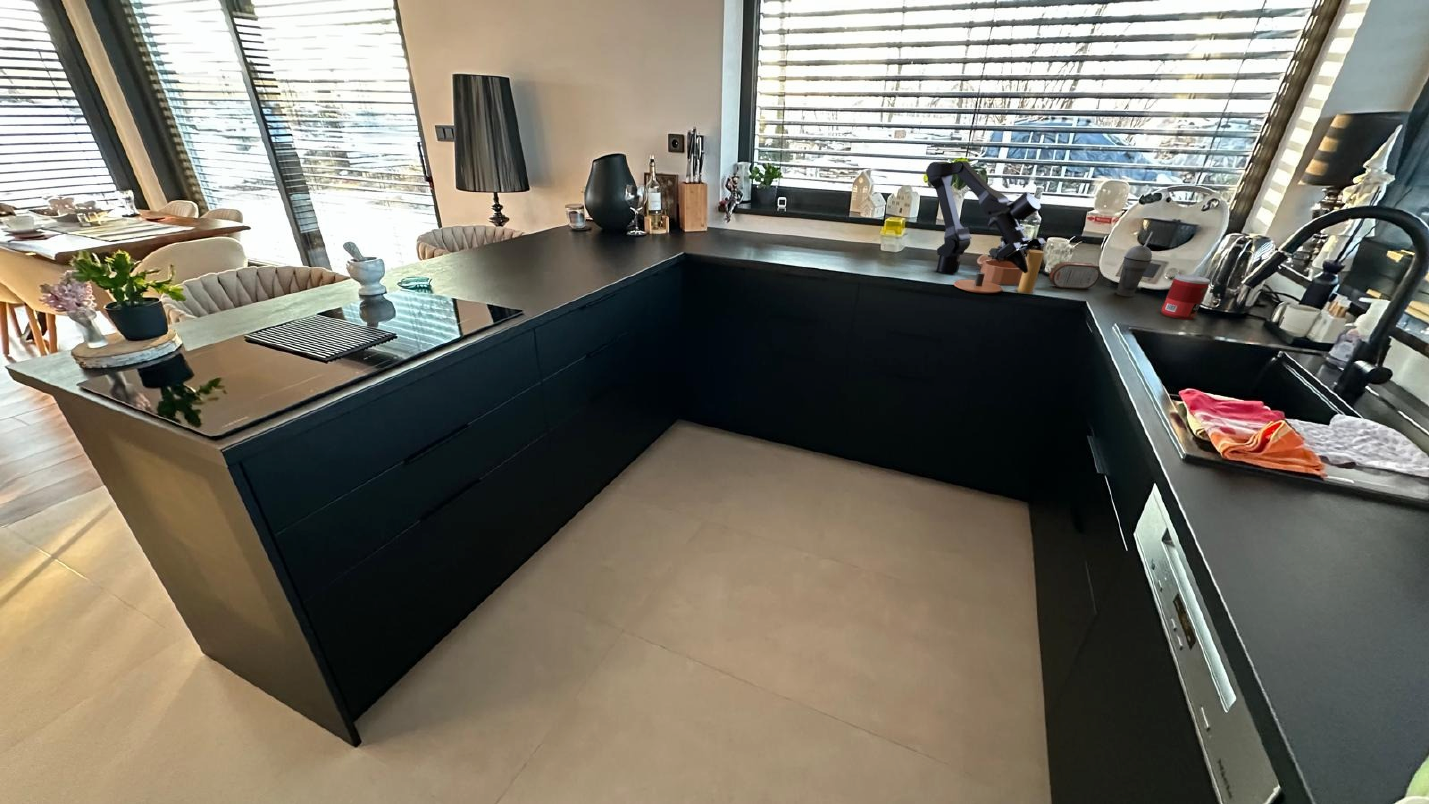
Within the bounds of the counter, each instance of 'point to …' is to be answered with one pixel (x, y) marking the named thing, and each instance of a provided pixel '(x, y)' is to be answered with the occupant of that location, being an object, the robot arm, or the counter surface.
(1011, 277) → the pot
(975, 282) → the lid
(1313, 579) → the counter surface
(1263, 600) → the counter surface
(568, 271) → the counter surface
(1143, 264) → the beverage cup
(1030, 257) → the eggroll
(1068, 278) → the tin
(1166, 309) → the canned food
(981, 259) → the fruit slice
